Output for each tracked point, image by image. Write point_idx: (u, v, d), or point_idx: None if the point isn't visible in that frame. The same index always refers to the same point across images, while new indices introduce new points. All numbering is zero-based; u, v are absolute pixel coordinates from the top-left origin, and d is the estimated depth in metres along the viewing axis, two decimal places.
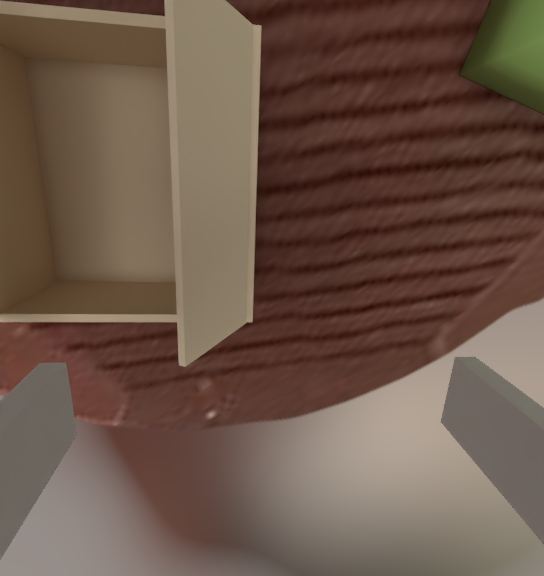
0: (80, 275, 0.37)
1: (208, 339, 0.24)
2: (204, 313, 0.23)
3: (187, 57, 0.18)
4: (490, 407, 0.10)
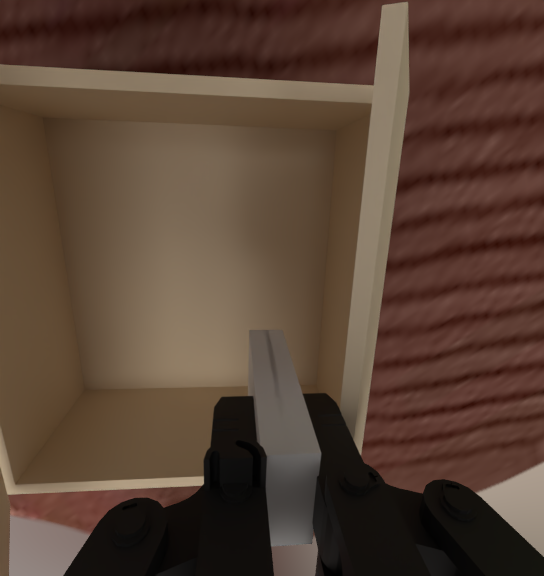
0: (113, 382, 0.29)
1: None
2: None
3: (386, 195, 0.09)
4: None
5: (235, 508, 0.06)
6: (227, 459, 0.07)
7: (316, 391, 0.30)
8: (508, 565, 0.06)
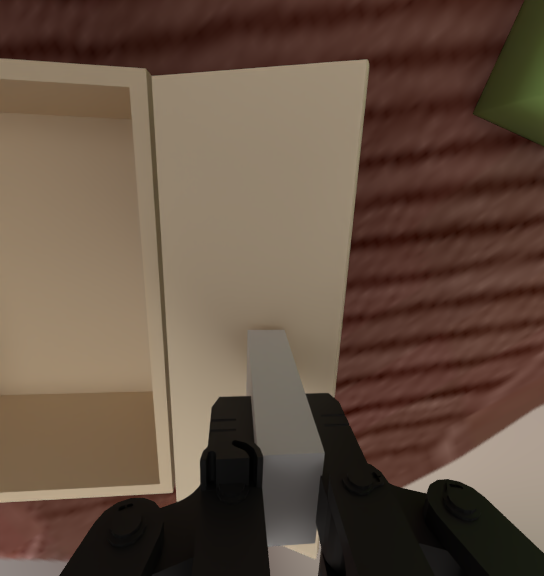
0: None
1: None
2: None
3: None
4: None
5: (232, 508, 0.06)
6: (224, 459, 0.07)
7: None
8: (512, 565, 0.06)
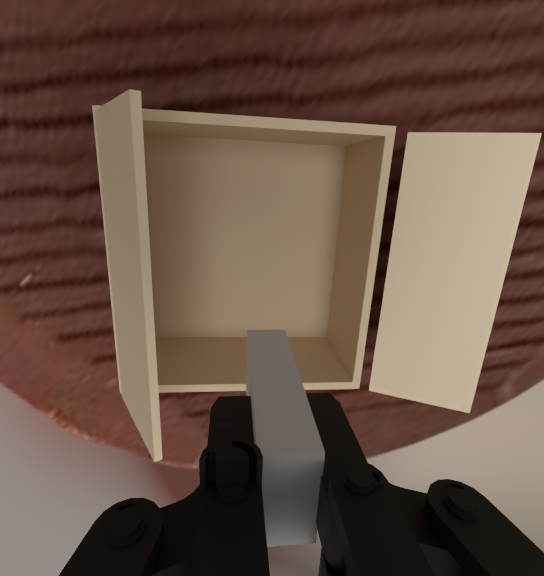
0: (175, 331, 0.38)
1: None
2: None
3: None
4: None
5: (231, 508, 0.06)
6: (223, 459, 0.07)
7: (327, 340, 0.40)
8: (513, 565, 0.06)
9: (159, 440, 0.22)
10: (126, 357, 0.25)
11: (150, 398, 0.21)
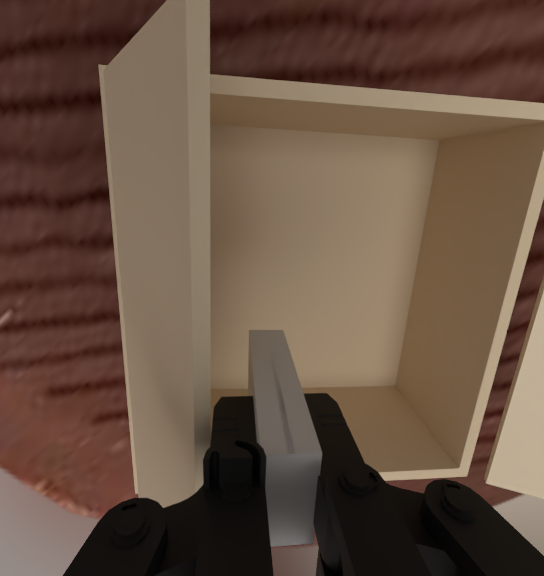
0: None
1: None
2: None
3: None
4: None
5: (234, 508, 0.06)
6: (226, 459, 0.07)
7: (398, 392, 0.31)
8: (509, 565, 0.06)
9: None
10: (149, 470, 0.15)
11: None
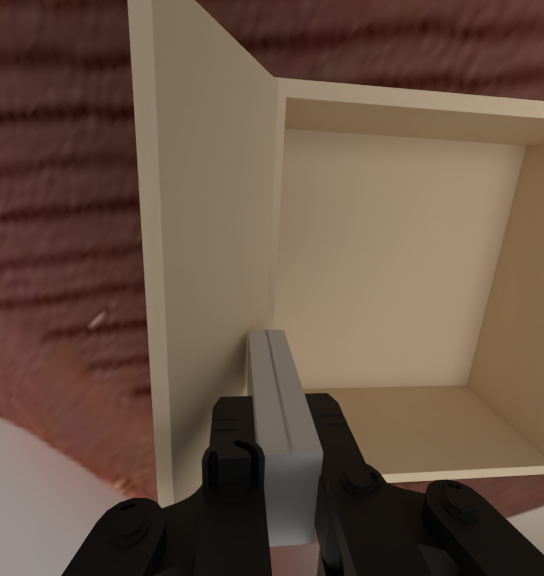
0: None
1: None
2: None
3: None
4: None
5: (233, 508, 0.06)
6: (225, 459, 0.07)
7: (471, 391, 0.31)
8: (510, 565, 0.06)
9: None
10: None
11: None
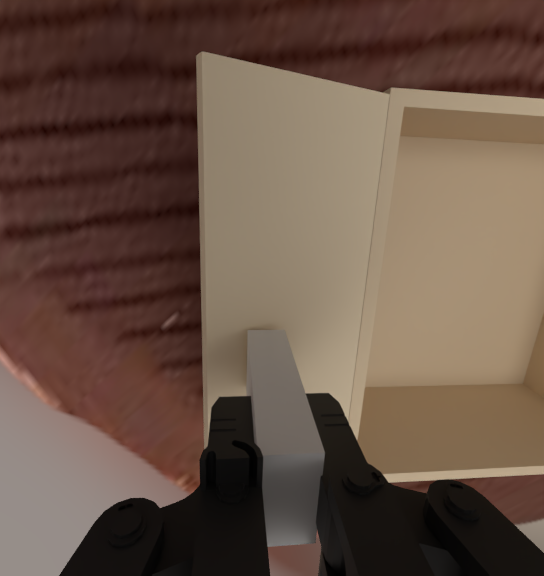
0: None
1: None
2: None
3: None
4: None
5: (231, 508, 0.06)
6: (223, 459, 0.07)
7: (529, 389, 0.32)
8: (512, 565, 0.06)
9: None
10: None
11: None
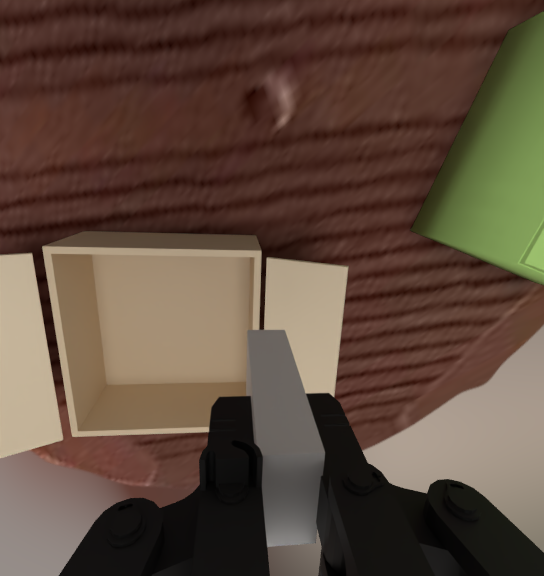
0: (124, 380, 0.49)
1: None
2: None
3: None
4: None
5: (231, 508, 0.06)
6: (223, 459, 0.07)
7: None
8: (513, 565, 0.06)
9: None
10: None
11: None
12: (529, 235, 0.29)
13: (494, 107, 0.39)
